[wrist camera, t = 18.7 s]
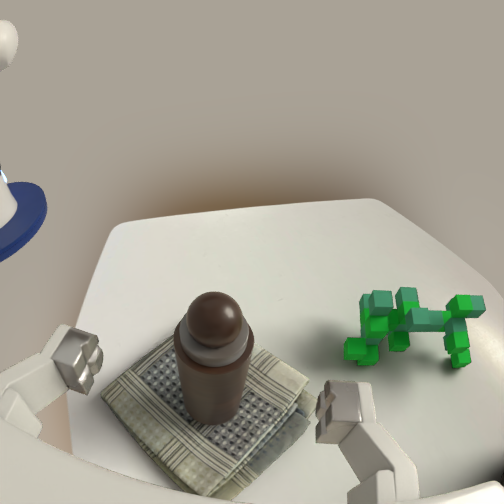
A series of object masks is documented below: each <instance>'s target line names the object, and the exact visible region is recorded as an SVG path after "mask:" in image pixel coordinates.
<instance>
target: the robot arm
mask: <svg viewBox="0 0 504 504" xmlns="http://www.w3.org/2000/svg"><path fill="white" fill-rule="evenodd" d="M17 48H18V34H17V31H16V28H15V27H14V25H13V24H12V23H11V22H9V21H8V20H0V71H2V70H4V69H5V68H7V67H9V65H10V63H11V62H12V61H13V59H14V57H15V55H16V51H17ZM6 182H7V179H6V177H5V176H4V174H3V173H2V171H1V166H0V228H2V227H3V226H4V225H5V224H6V223H7V222H8V221H9V220H10V219H11V218H12V217H13V215H14V214H15V212H16V210H17V201H16V200H15V199H14V197H13V195H12V194H11V192H10V190H9V188H8V186H7V184H6ZM98 342H99V340H98V337H97V335H94V334H91V333H88V332H85V331H82V330H79V329H76V328H73V327H70V326H67V325H64V324H61V325H59V326H58V327H57V329H56V330H55V331H54V333H53V334H52V336H51V337H50V339H49V340H48V342H47V343H46V345H45V346H44V348H43V349H42V351H41V352H40V354H38V353H36V354H34V355H32V356H30V357H28V358H26V359H24V360H22V361H21V362H19V363H17V364H15V365H13V366H11V367H9V368H7V369H5V370H4V371H2V372H0V504H251V503H243V502H235V501H228V500H222V499H216V498H210V497H205V496H200V495H195V494H190V493H186V492H181V491H177V490H173V489H169V488H165V487H161V486H158V485H154V484H151V483H147V482H144V481H140V480H137V479H134V478H131V477H128V476H125V475H122V474H119V473H116V472H113V471H111V470H108V469H105V468H103V467H100V466H97V465H95V464H92V463H90V462H87V461H85V460H83V459H80V458H78V457H76V456H73V455H71V454H69V453H67V452H65V451H62V450H60V449H58V448H56V447H54V446H52V445H50V444H48V443H46V442H44V441H42V440H40V439H38V436H39V434H40V432H41V430H42V428H43V424H42V422H41V421H40V420H39V419H38V418H37V416H36V415H35V414H37V413H38V412H39V411H40V410H42V409H43V408H45V407H46V406H47V405H49V404H50V403H52V402H53V401H54V400H56V399H57V398H58V397H60V396H61V395H62V394H64V393H65V392H67V391H68V390H69V389H71V390H74V391H76V392H79V393H82V394H85V395H88V393H89V391H90V389H91V387H92V385H93V383H94V379H93V376H94V375H95V374H97V373H99V371H100V369H101V367H102V362H103V352H102V349H101V348H100V347H99V346H98V345H97V344H98ZM316 417H317V419H318V420H319V422H318V424H317V426H316V443H324V444H339V445H338V446H339V448H340V450H341V451H342V453H343V455H344V456H345V458H346V460H347V461H348V463H349V464H350V466H351V468H352V469H353V471H354V473H355V474H356V476H357V478H358V479H359V481H360V482H361V483H360V484H359V485H357V486H356V487H354V488H352V489H351V490H350V491H349V492H347V504H504V487H503V486H502V485H501V484H500V483H499V482H497V481H489V482H486V483H482V484H479V485H476V486H472V487H469V488H465V489H461V490H457V491H453V492H449V493H445V494H440V495H436V496H431V497H426V498H420V493H419V484H418V476H417V468H416V465H415V464H414V463H413V462H412V461H411V459H410V458H409V457H408V456H407V455H406V453H405V452H404V451H403V450H402V449H401V447H400V446H399V445H398V444H397V442H396V441H395V440H394V439H393V438H392V436H391V435H390V434H389V433H388V432H387V430H386V429H385V428H384V427H383V425H382V424H381V423H377V422H376V415H375V408H374V401H373V394H372V388H371V385H370V383H367V382H355V381H338V380H328V381H326V383H325V385H324V391H322V392H320V394H319V396H318V399H317V403H316Z"/></svg>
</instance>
